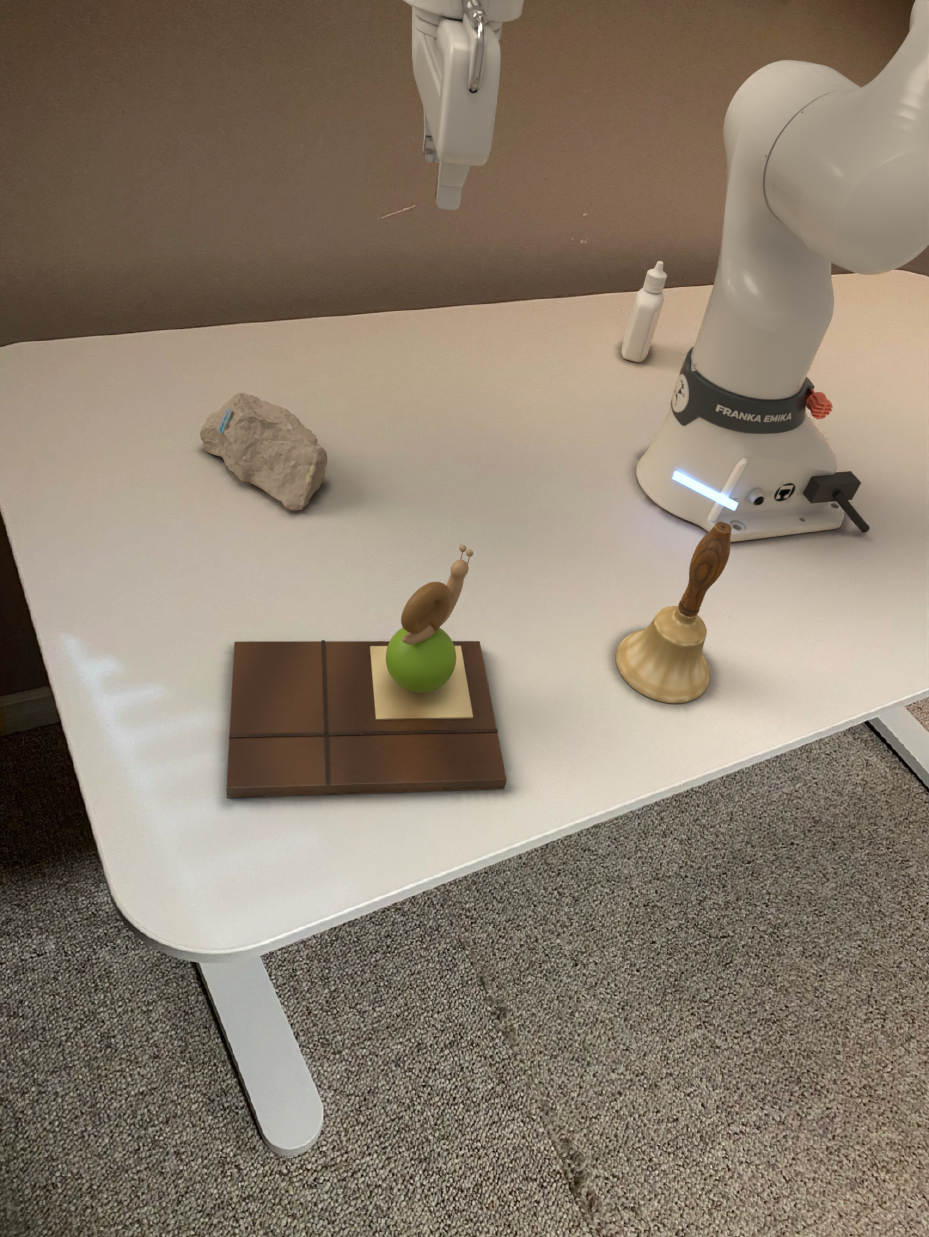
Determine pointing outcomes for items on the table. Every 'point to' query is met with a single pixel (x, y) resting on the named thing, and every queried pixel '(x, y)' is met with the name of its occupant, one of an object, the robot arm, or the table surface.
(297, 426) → the concrete fragment
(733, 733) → the table surface
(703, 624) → the hand bell
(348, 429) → the table surface
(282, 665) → the game board
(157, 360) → the table surface
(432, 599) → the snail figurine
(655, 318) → the eye dropper bottle
